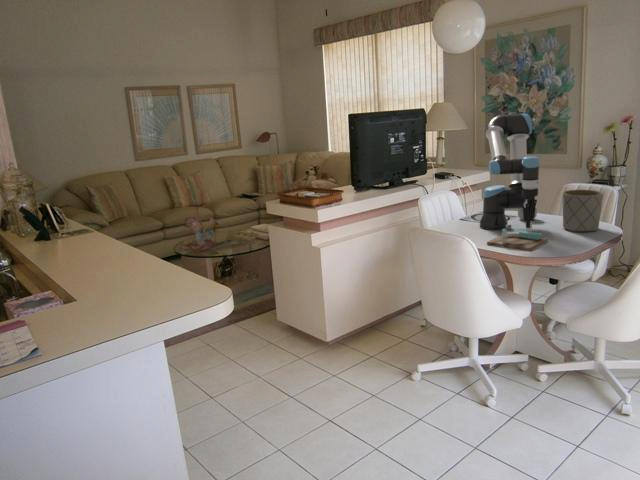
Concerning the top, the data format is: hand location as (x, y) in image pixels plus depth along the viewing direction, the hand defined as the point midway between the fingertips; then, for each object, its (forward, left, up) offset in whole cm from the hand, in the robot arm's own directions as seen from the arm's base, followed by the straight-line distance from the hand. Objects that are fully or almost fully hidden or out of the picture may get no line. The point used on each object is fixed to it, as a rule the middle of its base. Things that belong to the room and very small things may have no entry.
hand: (528, 233), depth 255 cm
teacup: (-19, +43, -4) cm, 47 cm away
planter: (+14, +33, -4) cm, 36 cm away
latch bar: (-3, -3, -1) cm, 4 cm away
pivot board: (-2, -9, -3) cm, 10 cm away
